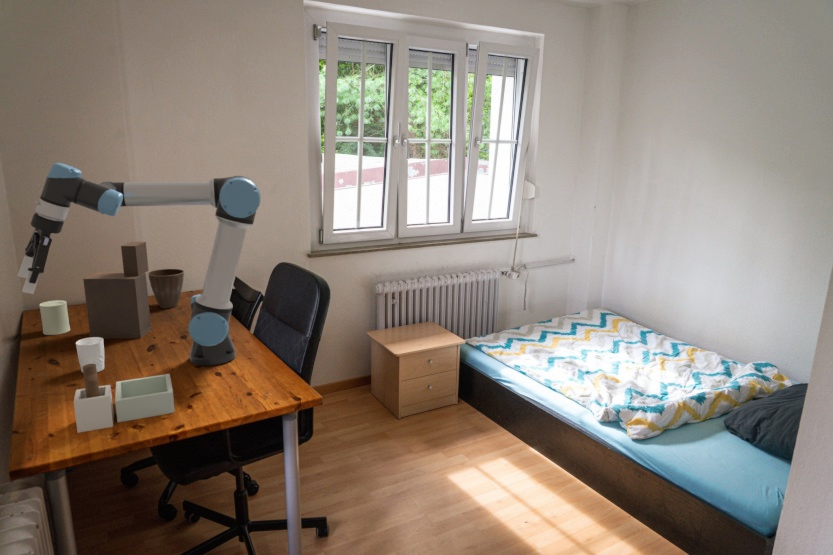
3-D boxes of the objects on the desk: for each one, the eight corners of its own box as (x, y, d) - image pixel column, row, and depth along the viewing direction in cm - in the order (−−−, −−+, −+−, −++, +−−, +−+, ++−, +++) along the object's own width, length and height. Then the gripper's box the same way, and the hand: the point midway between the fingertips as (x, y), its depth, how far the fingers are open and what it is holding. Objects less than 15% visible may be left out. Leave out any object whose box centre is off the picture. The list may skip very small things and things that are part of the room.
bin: (171, 395, 169) (169, 373, 167) (175, 415, 157) (172, 392, 155) (118, 404, 163) (116, 381, 161) (117, 425, 151) (115, 401, 149)
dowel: (103, 419, 152) (96, 363, 148) (102, 424, 149) (95, 367, 146) (90, 421, 151) (83, 364, 147) (89, 426, 148) (82, 368, 145)
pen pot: (114, 416, 156) (110, 384, 153) (113, 429, 149) (109, 396, 146) (80, 422, 152) (76, 389, 150) (78, 436, 145) (73, 401, 143)
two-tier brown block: (155, 326, 232) (147, 241, 224) (141, 337, 218) (132, 248, 210) (107, 326, 231) (97, 241, 223) (89, 338, 217) (78, 247, 209)
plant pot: (180, 300, 271) (177, 267, 268) (191, 307, 260) (188, 272, 257) (147, 305, 262) (143, 271, 258) (156, 312, 251) (153, 277, 247)
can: (68, 333, 222) (64, 304, 219) (40, 336, 219) (36, 306, 216) (72, 326, 231) (68, 298, 228) (45, 329, 227) (41, 300, 224)
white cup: (76, 375, 183) (72, 346, 180) (83, 366, 190) (79, 338, 188) (103, 373, 185) (100, 344, 183) (109, 364, 192) (106, 336, 190)
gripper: (30, 202, 169) (6, 268, 171) (39, 223, 151) (13, 296, 153) (58, 210, 174) (35, 274, 176) (71, 231, 156) (45, 302, 158)
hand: (25, 284), depth 164 cm, fingers open, 13 cm apart
